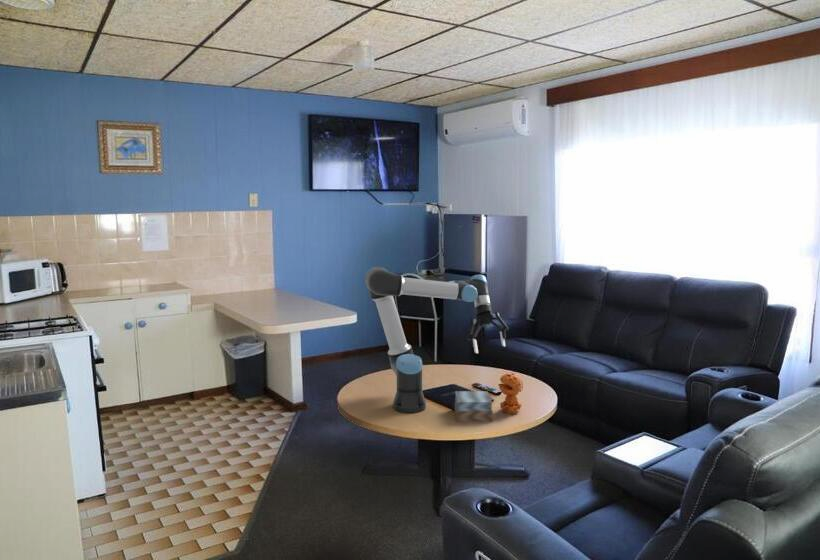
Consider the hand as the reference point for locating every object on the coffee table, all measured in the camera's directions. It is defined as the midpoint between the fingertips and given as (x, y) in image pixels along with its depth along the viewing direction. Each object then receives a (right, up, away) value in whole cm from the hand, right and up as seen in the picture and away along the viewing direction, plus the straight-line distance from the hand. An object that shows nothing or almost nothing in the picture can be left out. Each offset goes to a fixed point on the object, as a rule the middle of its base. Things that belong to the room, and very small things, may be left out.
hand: (490, 349), depth 270 cm
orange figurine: (+8, -27, -6) cm, 29 cm away
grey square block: (-9, -28, -11) cm, 31 cm away
